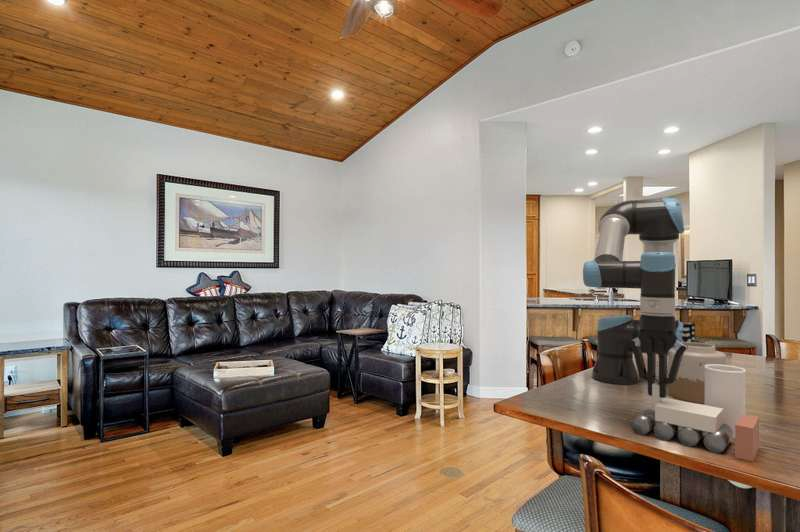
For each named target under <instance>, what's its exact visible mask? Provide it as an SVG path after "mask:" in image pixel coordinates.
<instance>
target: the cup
mask: <svg viewBox="0 0 800 532" xmlns="http://www.w3.org/2000/svg"><path fill="white" fill-rule="evenodd" d="M746 380H747V379H746V369H745V368H743V367H739V366H735V365H729V364H728V365H727V364H726V365H719V364H708V365H705V404H704V405H706V406H712V407H717V408H723V423H724V424H726V425H728V426H729V427H730V428H731V429H732V430H733V437H732V439H734V440H735V424H736V423H737V421H738V420H739V419H740V417H741V416H742V414H744V415H747V413H746V412H747V411H746V408H747V407H746V385H747V383H746V382H747V381H746Z"/></svg>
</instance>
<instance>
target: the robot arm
mask: <svg viewBox="0 0 800 532" xmlns="http://www.w3.org/2000/svg"><path fill="white" fill-rule="evenodd" d="M597 231H598V233H599V235H598V241H597V244H596V249H595V252H594V258H593V260H587V261H585V262H584V263H583V265H582V266H583V268H582V281H583V284H584V286H585V287H588V288H597V289H605V288H607V289H638V290H639V289H640V296H639V298H640V299H639V300H640V302H639V303H640V304H639V305H640V307H639V308H640V309H639V310H640V312H641V313H640V314H639V319H634V316H633V315H630V314H623V315H622V314H620V315H608V316H607V315H606V316H603V317H600V318H599V319H598V321H597V329H596V331H597V357H596V360H595V363H594V366H593V369H592V372H591V373H592V375H591V377H592V379H593V380H596V381H599V382H603V383H607V384H614V385H633V384H634V385H635V384H637V383H639V378H640V379H641V380H644V381H646V382H647V395H648V396H650V397H651V403H652V404H651V409H652V410H653V411H655V405H657V404H658V403H659V402H661V401H662V400H663V399H665V398H667V394H668V384H672V383H673V382H675V380H676V377H677V373H678V370H679V367H680V363H681V360H682V356H683V354H684V352H685V351H686V350H687V349H688V346H687V345H683V344H682V343H680V342H681V341H682V332H683V323H682V322H683V321H679V316H678V315H676V268H677V265H676V255H675V253H674V248H675V246H674V245H675V243H676V242H678V240H680V235H682V234H684V233H685V225H684V218H683V212H682V206H681V201H680V200H679V199H677V198H675V197H661V198H649V199H648V198H647V199H635V200H623V201H621V202H618V203H617V204H614V205H613V206H611V207H610V208H609V209H607V210H606V212H604V213H603V214H602V215H601V217H600V218H599V220H598V226H597ZM627 235H639V237H638V240H639V241H640V242H641V243H642V244H643V245H644V246H643V249H644V251H643V253H642V254H641V255H640V260H623V256H624V247H625V241H626V236H627ZM671 348H675V350H676V353H675V355H674V359H673V362H672V365H671V369H670V372H669V376H668V351H669V350H670V349H671ZM643 354H646V357H647V360H646V361H647V362H645V359H644V355H643ZM633 355H634V356H633ZM656 355H658V382H657V378H656V377H657V376H656V372H657V371H656V370H657V369H656V368H657V367H656V363H657V361H656V360H657V358H656V357H657V356H656ZM634 361H635V362H634ZM645 363H647V365H646V364H645ZM635 364H636V366H635ZM646 367H647V368H646Z"/></svg>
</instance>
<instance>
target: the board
mask: <svg viewBox="0 0 800 532" xmlns="http://www.w3.org/2000/svg"><path fill="white" fill-rule="evenodd" d="M655 420H656V421H661V422H665V423H670V424H674V425H679V426H683V427H688V428H693V429H697V430H702V431H707V432H706V433H708V432H711V433H716V432H717V431H718V430H719V428H720V427H721V426H722V424H723V408H717V407H712V406H706V405H705V404H699V403H692V402H687V401H683V400H679V399H675V398H674V399H672V398H668V397H665V398H663V399H662V401H661V402H659V403H658V404H657V405H655Z"/></svg>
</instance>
